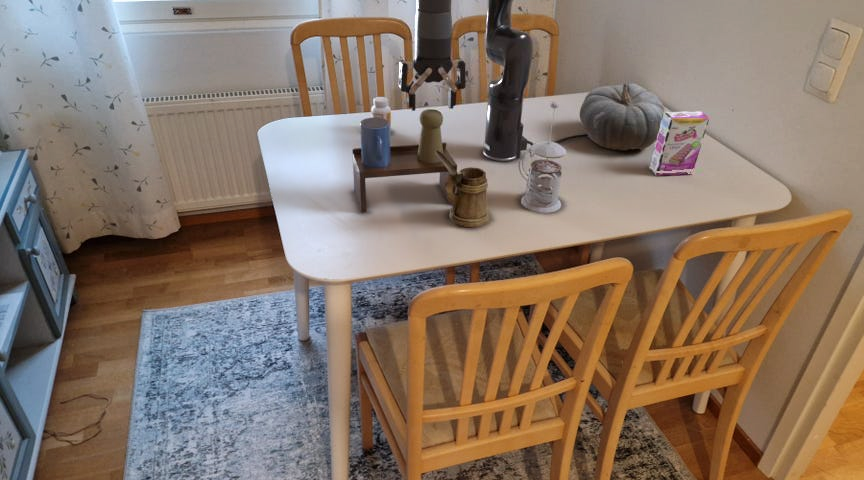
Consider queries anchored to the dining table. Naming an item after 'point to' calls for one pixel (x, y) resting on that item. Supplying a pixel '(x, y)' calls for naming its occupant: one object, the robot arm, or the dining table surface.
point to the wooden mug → (466, 194)
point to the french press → (543, 195)
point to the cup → (375, 142)
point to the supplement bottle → (381, 109)
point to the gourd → (622, 116)
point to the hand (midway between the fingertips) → (431, 108)
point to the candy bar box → (678, 141)
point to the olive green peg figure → (430, 136)
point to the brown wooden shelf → (397, 169)
